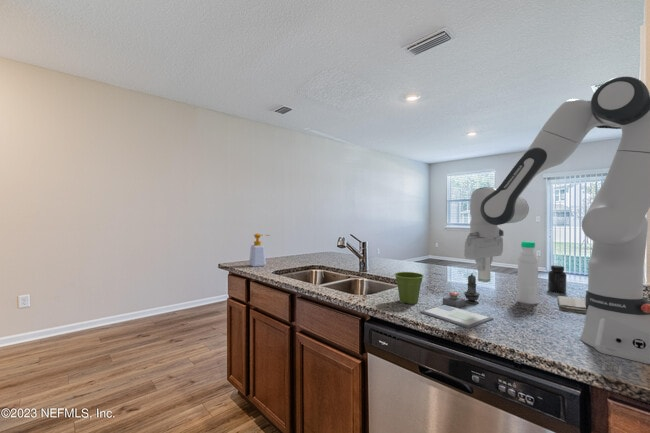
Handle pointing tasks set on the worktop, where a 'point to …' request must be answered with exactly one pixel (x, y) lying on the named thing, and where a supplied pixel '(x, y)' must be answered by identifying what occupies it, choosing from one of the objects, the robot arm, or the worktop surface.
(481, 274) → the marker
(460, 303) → the button housing
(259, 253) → the soap bottle
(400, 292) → the plant pot
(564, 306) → the washcloth
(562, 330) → the worktop surface
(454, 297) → the button
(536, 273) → the water bottle
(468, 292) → the dark tiered figurine
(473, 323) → the white rectangular board
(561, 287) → the supplement bottle
